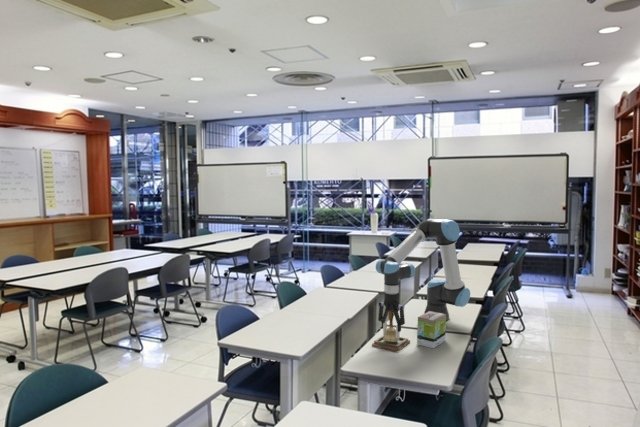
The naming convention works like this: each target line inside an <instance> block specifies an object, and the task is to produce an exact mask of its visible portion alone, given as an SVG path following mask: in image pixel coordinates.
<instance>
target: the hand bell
mask: <svg viewBox="0 0 640 427" xmlns="http://www.w3.org/2000/svg"><path fill="white" fill-rule="evenodd" d="M387 317H388V319H389V325H388V326H389V327H387V332H386V335H385V336H384V338H383V339H384V340H385V341H388V342H396V341H399V338H396V327H395V328H394V326H393V325H394V323H393V320H394V313H393V311H391V310H389V312H388V315H387Z"/></svg>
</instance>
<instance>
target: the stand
mask: <svg viewBox="0 0 640 427" xmlns="http://www.w3.org/2000/svg"><path fill="white" fill-rule="evenodd" d="M383 338H384V336H383V335H381V336H380V337H378V338H377V339H375V340H374V341H373V343H372V344H371V346H372V347H373V348H377V349H382V350H385V351H390V352H395V353H398V352H399V351H400V350H402V349H403V348H405V347H406V346H407V345H409V344H410V343H411V340H409V338H406V337H399V341H396V342H388V341H385V340H384V339H383Z"/></svg>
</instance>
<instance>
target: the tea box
mask: <svg viewBox="0 0 640 427" xmlns="http://www.w3.org/2000/svg"><path fill="white" fill-rule="evenodd" d="M416 330H417V332H416V334H417V335H416V337H417V338H416V345H417V346H422V347H427V348H431V349H435V348H437V347H438V346H439V345H441V344H442V343H444V342H446V331H447V320H446V314H442V313H437V312H432V311H429V312H427V313H425V314H424V313H423V314H421V315H420V316H418V317H417V329H416Z"/></svg>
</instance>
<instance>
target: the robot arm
mask: <svg viewBox="0 0 640 427" xmlns="http://www.w3.org/2000/svg"><path fill="white" fill-rule="evenodd" d="M460 234H461V233H460V226H459V224H458V223H457V222H456V221H455V220H453V219H446V218H445V219H444V218H442V219H441V218H433V217H431V218H427V219H424V220H423V221H421V222H420V223H417V224H416V226H414V227H413V229H411V232H410V234H409V235H408V236H407V237H406V238H405V239H404V240H403V241H402V242H400V244H399V245H398V246H397V247H395V249H394V250H393V251H392V252H391V253H390V254H389V255H388V256H387V257H386V258H385V259H379V260H377V262H376V263H375V270H376V272H377V273H378V274H381V275H383V277H384V278H383V280H384V281H383V282H384V283H383V284H384V285H383V287H384V288H383V289H384V290H383V291H384V293H383V294H384V295H383V299H384V301H380V302H378V306H379V309H378V317H377V318H378V322H381V329H382V336H385V335H386V332H387V328H388V321H387V318H388V314H389V310H391V311H393V316H394V317H395V318H394V319H395V321H396V326H395V330H396V338H399V337H400V332H402V326H404V325H405V324H406V320H405V304H400V294H399V293H400V280H405V279H406V280H407V279H410V278H412V277H414V276H415V275H416V267H415V265H414V264H412V263H411V262H410V263H407V262H406V263H403V261H404V260H405V259H406V258H407V257H409V255H410V254H411V253H412V252H413V251H414V250H415V249H416V248H417V247H418V246H419V245H420V244H421V243H424V242H425V241H427V240H428V239H434V240H435V244H436V245H437V246H439V251H440V257H441V262H442V268H443V273H444V279H433V280H430V281H428V282H427V286H426V307H425V310H424V313H423V314H425V313H427V312H429V311H432V312H437V313H442V314H446V321H447V320H449V319H450V313H449V310H448V306H447V305H451V306H455V307H460V308H461V307H462V308H463V307H465V306H466V305H467V304H468V303H469V301H470V300H471V299H470V298H471V290H470V289H469V288H468V287H466V285H465V282H464V281H463V280H462V277H461V272H460V267H459V266H460V265H459V261H458V255H457V251H456V250H457V249H456V243H458V242H457V241H458V239H459V237H460ZM384 307H385V309H384Z"/></svg>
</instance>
